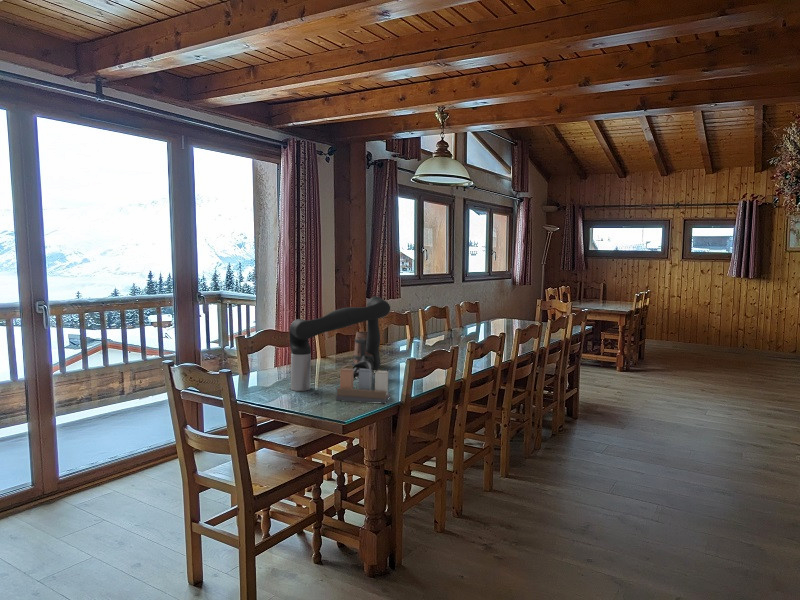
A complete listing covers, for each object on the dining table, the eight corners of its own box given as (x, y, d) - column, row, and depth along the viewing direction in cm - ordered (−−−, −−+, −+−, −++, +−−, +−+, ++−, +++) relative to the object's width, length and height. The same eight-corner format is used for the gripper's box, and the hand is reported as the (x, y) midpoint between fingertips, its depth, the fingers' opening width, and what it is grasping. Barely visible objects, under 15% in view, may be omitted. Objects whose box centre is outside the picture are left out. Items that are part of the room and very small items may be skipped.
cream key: (376, 393, 245) (377, 370, 244) (387, 394, 244) (388, 371, 243) (374, 395, 241) (375, 372, 240) (385, 396, 240) (386, 372, 239)
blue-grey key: (360, 391, 248) (361, 368, 248) (371, 392, 247) (371, 369, 247) (358, 393, 244) (358, 370, 244) (369, 394, 243) (369, 370, 243)
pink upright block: (342, 391, 248) (343, 368, 247) (353, 391, 247) (353, 368, 246) (340, 393, 244) (340, 369, 243) (350, 393, 243) (351, 370, 242)
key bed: (343, 393, 252) (344, 383, 252) (390, 397, 248) (390, 386, 248) (336, 400, 240) (336, 389, 240) (384, 404, 236) (385, 392, 236)
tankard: (352, 362, 327) (352, 329, 326) (380, 363, 326) (380, 330, 325) (346, 370, 304) (347, 335, 302) (376, 371, 303) (377, 336, 301)
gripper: (349, 360, 272) (338, 367, 255) (375, 362, 269) (366, 369, 252) (349, 375, 272) (338, 383, 255) (374, 377, 270) (365, 385, 253)
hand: (352, 376), depth 254 cm, fingers closed
